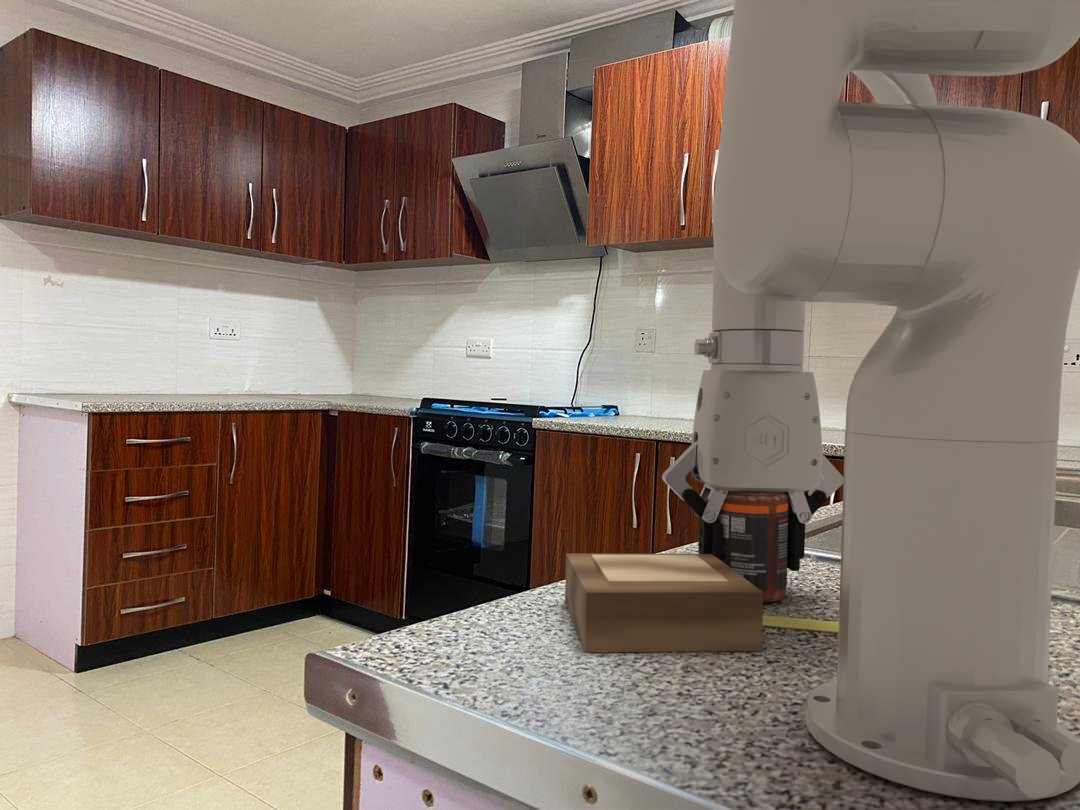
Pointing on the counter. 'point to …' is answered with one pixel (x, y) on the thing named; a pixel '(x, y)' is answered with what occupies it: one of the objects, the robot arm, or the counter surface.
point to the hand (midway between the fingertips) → (750, 565)
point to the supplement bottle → (757, 539)
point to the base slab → (661, 603)
